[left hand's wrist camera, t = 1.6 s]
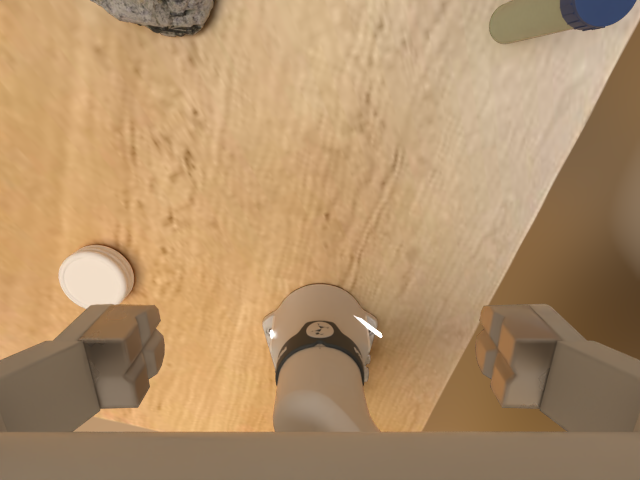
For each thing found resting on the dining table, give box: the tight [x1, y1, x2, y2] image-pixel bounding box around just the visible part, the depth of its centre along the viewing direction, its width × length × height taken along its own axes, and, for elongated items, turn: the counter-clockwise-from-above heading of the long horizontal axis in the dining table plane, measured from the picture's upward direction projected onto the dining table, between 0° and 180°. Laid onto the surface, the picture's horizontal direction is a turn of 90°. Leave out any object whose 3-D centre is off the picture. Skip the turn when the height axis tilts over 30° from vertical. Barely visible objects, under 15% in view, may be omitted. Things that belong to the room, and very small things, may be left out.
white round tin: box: [59, 245, 134, 309], centre depth 61 cm, size 10×10×4 cm
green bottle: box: [489, 0, 574, 44], centre depth 42 cm, size 5×5×18 cm
